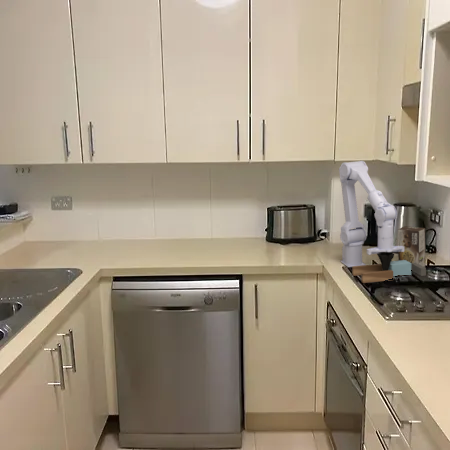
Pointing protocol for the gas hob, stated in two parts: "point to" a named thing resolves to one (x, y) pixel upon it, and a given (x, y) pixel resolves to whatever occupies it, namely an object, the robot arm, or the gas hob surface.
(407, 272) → the block
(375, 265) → the chute
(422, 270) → the block
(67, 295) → the gas hob surface
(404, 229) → the cookie box
